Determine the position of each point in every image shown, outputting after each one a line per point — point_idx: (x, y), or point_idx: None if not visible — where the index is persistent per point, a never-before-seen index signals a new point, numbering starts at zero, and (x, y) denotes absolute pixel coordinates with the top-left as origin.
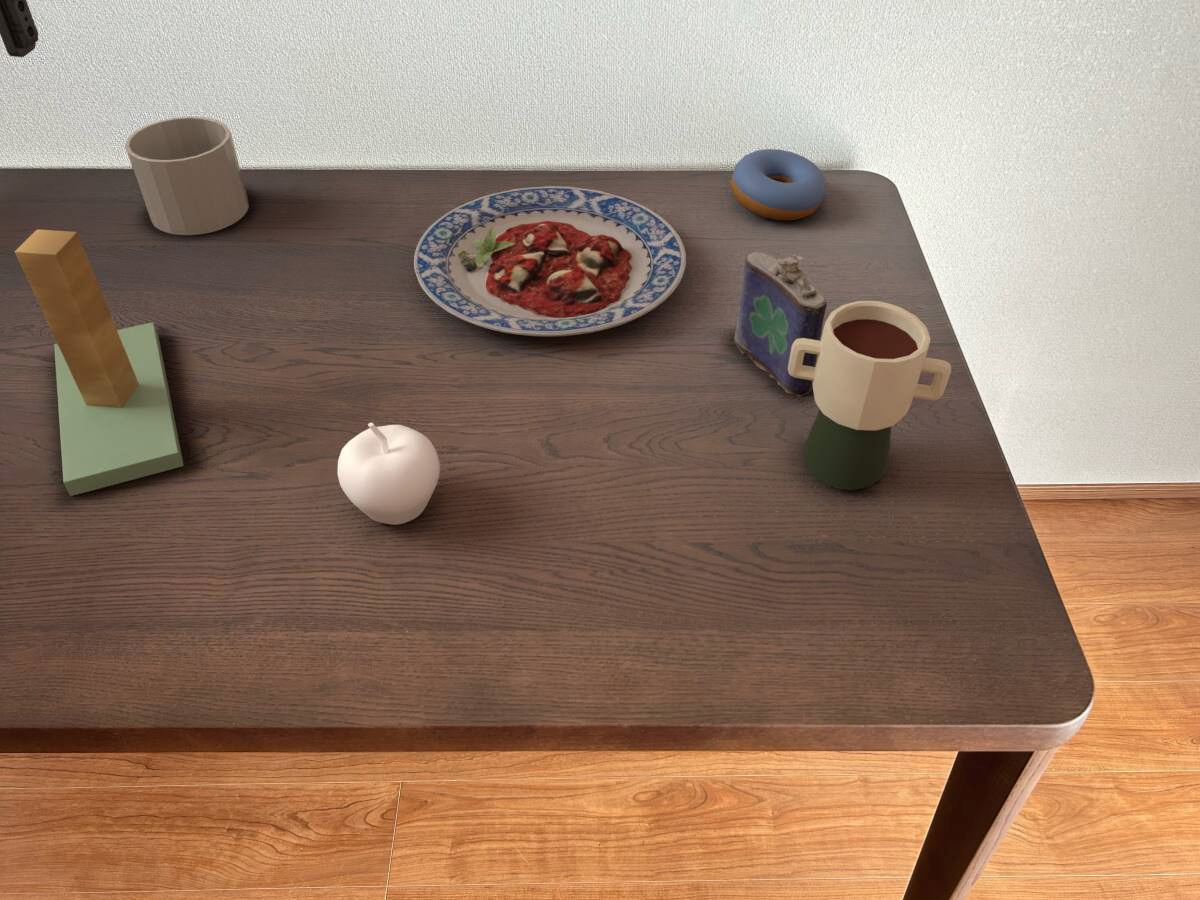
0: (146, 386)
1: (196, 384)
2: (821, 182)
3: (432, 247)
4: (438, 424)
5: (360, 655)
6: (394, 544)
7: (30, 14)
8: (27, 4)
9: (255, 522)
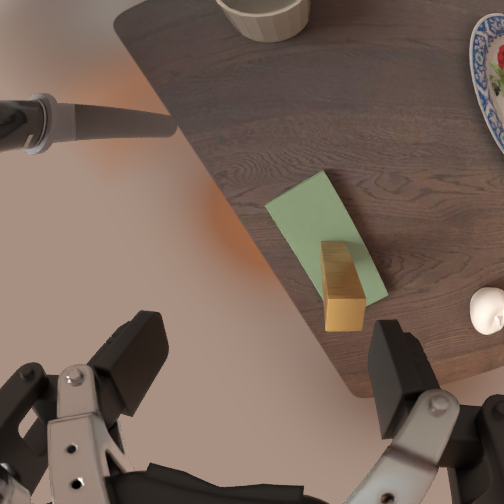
0: (350, 242)
1: (371, 220)
2: None
3: (480, 76)
4: (497, 242)
5: (462, 362)
6: None
7: (428, 365)
8: (435, 378)
9: (426, 317)
